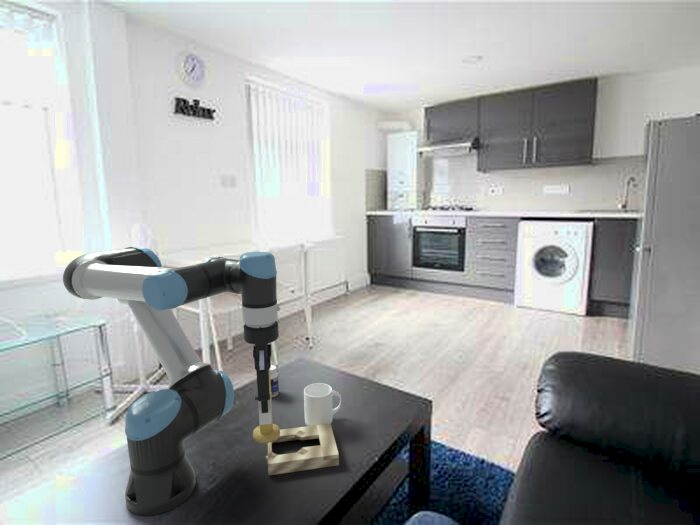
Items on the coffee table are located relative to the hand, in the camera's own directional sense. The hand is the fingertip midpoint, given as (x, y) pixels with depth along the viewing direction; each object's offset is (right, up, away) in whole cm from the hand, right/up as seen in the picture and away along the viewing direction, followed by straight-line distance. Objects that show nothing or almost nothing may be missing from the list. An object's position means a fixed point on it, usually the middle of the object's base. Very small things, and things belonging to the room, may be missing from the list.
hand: (265, 418), depth 93 cm
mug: (+11, -13, +31) cm, 36 cm away
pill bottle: (-8, -10, +48) cm, 49 cm away
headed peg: (0, -4, +1) cm, 4 cm away
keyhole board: (+6, -16, +16) cm, 24 cm away
